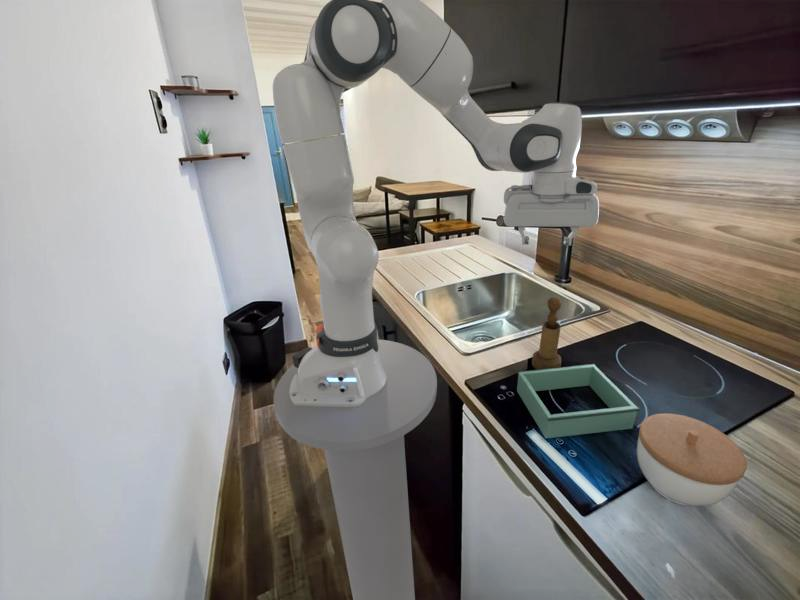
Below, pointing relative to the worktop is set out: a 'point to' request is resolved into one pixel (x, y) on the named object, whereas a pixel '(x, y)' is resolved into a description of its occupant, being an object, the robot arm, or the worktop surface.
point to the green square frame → (584, 421)
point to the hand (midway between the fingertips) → (545, 244)
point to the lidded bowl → (688, 459)
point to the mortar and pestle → (549, 339)
